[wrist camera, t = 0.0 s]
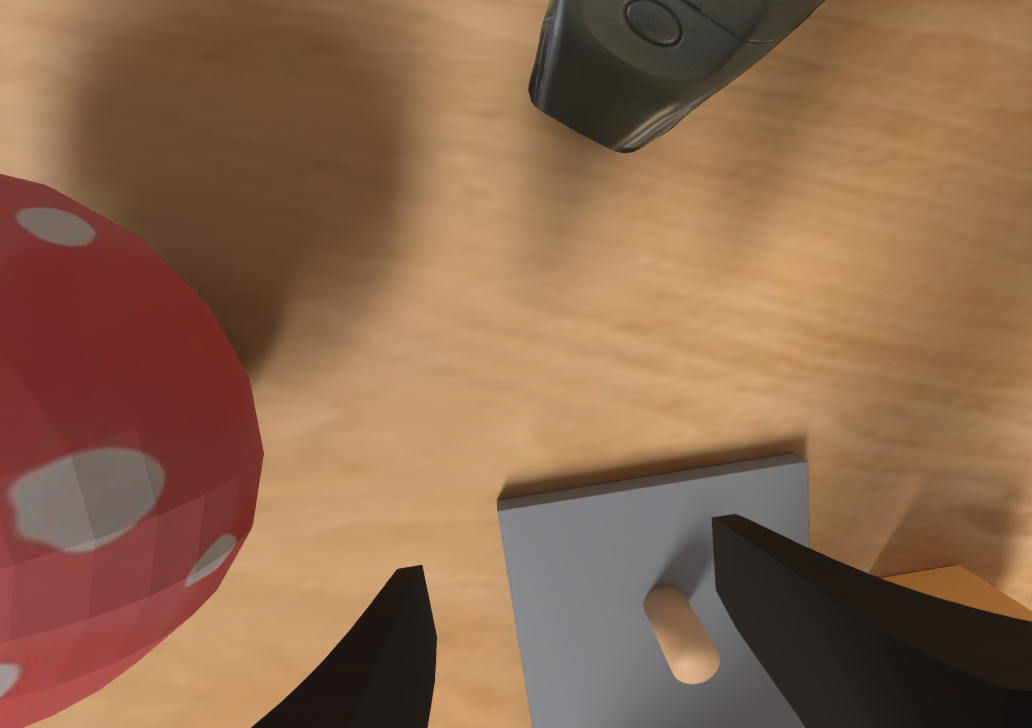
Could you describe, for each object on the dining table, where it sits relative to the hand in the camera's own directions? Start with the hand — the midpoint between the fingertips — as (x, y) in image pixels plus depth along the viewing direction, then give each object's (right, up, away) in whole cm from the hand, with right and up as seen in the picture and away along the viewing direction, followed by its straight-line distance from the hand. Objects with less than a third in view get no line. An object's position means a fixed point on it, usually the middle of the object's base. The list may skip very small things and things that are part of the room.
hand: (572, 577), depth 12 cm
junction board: (+6, -8, +13) cm, 16 cm away
